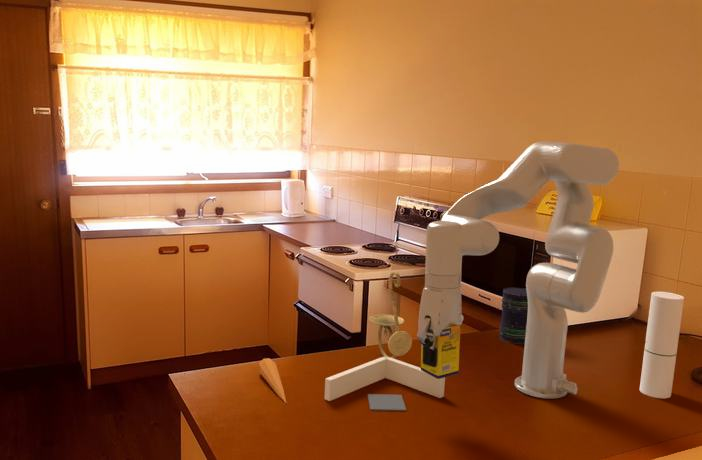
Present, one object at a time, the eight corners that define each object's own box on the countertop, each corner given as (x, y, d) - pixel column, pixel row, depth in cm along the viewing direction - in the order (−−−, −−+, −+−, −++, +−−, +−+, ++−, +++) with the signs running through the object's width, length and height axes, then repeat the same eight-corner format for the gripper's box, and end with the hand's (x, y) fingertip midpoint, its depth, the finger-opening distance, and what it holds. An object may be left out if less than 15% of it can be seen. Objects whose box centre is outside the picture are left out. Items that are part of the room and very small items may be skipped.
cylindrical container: (668, 389, 163) (681, 293, 159) (672, 400, 156) (686, 300, 152) (638, 384, 165) (650, 290, 161) (640, 395, 158) (653, 296, 154)
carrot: (260, 374, 162) (254, 360, 160) (276, 367, 163) (270, 352, 161) (280, 416, 144) (274, 400, 142) (298, 407, 145) (292, 391, 143)
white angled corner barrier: (443, 396, 152) (445, 376, 151) (385, 425, 136) (387, 403, 135) (384, 374, 164) (385, 355, 163) (324, 399, 147) (325, 378, 147)
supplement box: (459, 374, 138) (461, 325, 136) (437, 380, 135) (439, 330, 133) (441, 364, 143) (443, 317, 141) (419, 370, 140) (421, 322, 138)
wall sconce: (415, 367, 170) (421, 275, 166) (382, 370, 166) (387, 276, 162) (393, 349, 182) (398, 263, 178) (362, 352, 179) (366, 264, 175)
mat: (401, 396, 151) (401, 394, 151) (406, 411, 143) (406, 409, 143) (367, 395, 151) (367, 394, 151) (370, 410, 143) (370, 409, 143)
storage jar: (497, 332, 203) (501, 286, 200) (529, 335, 201) (533, 288, 199) (500, 342, 193) (504, 294, 191) (533, 345, 192) (538, 297, 189)
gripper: (450, 269, 144) (447, 345, 147) (403, 284, 131) (401, 367, 134) (479, 275, 139) (476, 353, 142) (434, 291, 126) (431, 377, 129)
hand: (439, 359), depth 138 cm, fingers closed on supplement box, 7 cm apart
